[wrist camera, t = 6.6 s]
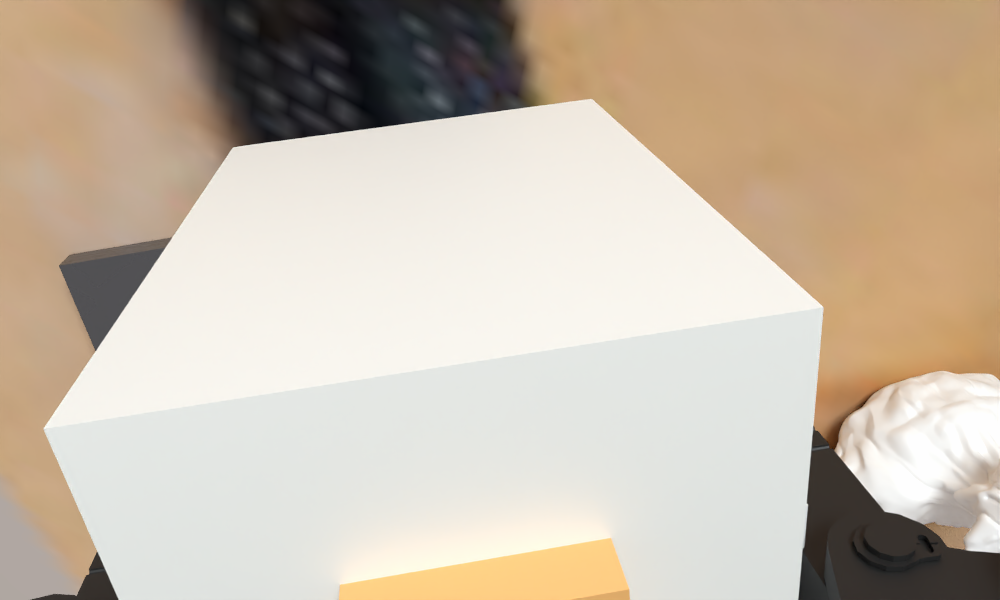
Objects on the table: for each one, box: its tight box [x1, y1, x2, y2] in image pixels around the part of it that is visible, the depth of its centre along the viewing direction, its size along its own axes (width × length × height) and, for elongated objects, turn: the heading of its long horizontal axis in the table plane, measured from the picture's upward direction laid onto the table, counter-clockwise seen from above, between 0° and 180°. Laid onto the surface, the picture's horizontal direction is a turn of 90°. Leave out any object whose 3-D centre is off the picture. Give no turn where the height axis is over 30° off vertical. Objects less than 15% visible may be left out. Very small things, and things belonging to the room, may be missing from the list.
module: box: [44, 99, 823, 600], centre depth 11 cm, size 6×9×9 cm, turn 6°
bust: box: [834, 371, 1000, 553], centre depth 32 cm, size 12×8×11 cm
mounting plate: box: [59, 238, 172, 351], centre depth 32 cm, size 16×14×2 cm
